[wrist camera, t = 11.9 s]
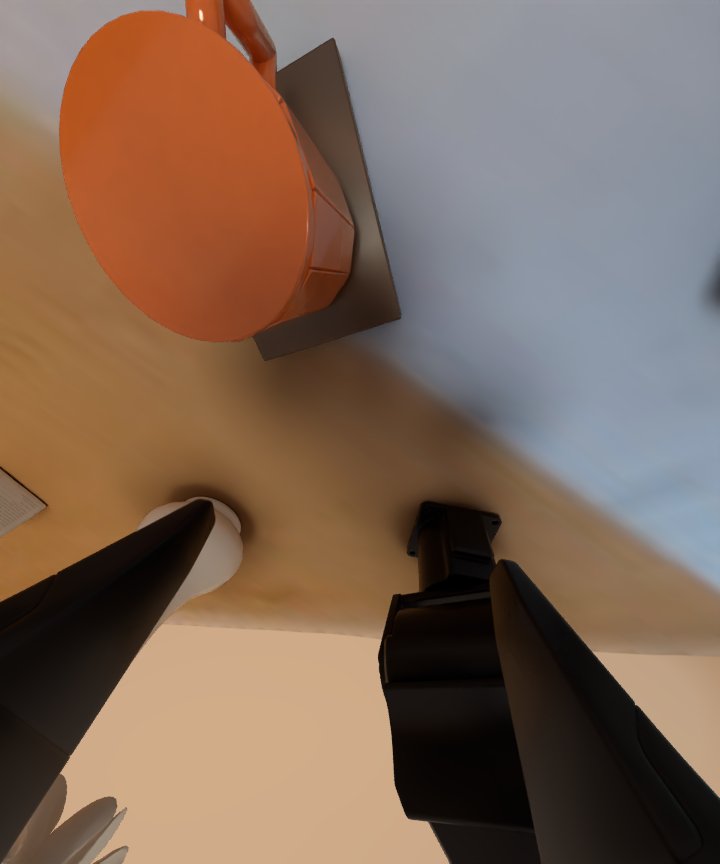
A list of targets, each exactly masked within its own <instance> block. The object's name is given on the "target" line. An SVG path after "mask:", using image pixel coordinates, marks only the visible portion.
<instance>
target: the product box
mask: <svg viewBox="0 0 720 864" xmlns="http://www.w3.org/2000/svg"><path fill="white" fill-rule="evenodd" d="M44 508H46V505H45V504H43V503H42V502H41V501H40V500H39V499H38V498H36V497H35V496H34V495H33V494H31V493H30V492H29V491H27V490H26V489H25V488H24V487H22V486H21V485H20V484H18V483H17V482H16V481H15V480H13V479H12V478H11V477H10V476H9V475H7V474H6V473H5V472H4V471H2V470H1V469H0V538H1V537H2V536H4V535H5V534H7V533H8V532H10V531H11V530H13V529H14V528H16V527H17V526H19V525H21V524H22V523H24V522H25V521H27V520H28V519H30V518H31V517H33V516H34V515H36V514H37V513H39V512H40V511H42V510H43V509H44Z"/></svg>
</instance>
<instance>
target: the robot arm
mask: <svg viewBox="0 0 720 864" xmlns="http://www.w3.org/2000/svg"><path fill="white" fill-rule="evenodd" d="M425 507H428V508H425ZM494 520H496V521H494ZM215 521H216V517H215V512H214V506H213V503H212V501H210V500H206V499H196V500H194V501H192V502H190V503H189V504H187V505H185V506H183V507H181V508H179V509H177V510H175V511H173V512H171V513H170V514H168V515H166V516H164V517H162V518H160V519H158V520H156V521H154V522H153V523H151V524H149V525H147V526H145V527H143V528H141V529H139V530H137V531H135V532H134V533H132V534H130V535H128V536H126V537H124V538H122V539H120V540H118V541H117V542H115V543H113V544H111V545H109V546H107V547H105V548H103V549H101V550H99V551H98V552H96V553H94V554H92V555H90V556H88V557H86V558H84V559H82V560H80V561H79V562H77V563H75V564H73V565H71V566H69V567H67V568H65V569H63V570H62V571H60V572H58V573H57V574H56V575H52V576H50V577H48V578H46V579H44V580H42V581H40V582H39V583H37V584H35V585H33V586H31V587H29V588H27V589H25V590H23V591H21V592H19V593H17V594H15V595H13V596H11V597H9V598H7V599H5V600H3V601H1V602H0V864H1V863H2V861H3V860H4V858H5V857H6V855H7V854H8V852H9V851H10V849H11V848H12V846H13V845H14V843H15V841H16V840H17V838H18V837H19V835H20V834H21V832H22V831H23V829H24V828H25V826H26V825H27V823H28V821H29V820H30V818H31V817H32V815H33V814H34V812H35V811H36V809H37V808H38V806H39V805H40V803H41V801H42V800H43V798H44V797H45V795H46V794H47V792H48V791H49V789H50V788H51V786H52V785H53V783H54V781H55V780H56V778H57V777H58V775H59V774H60V772H61V771H62V769H63V767H64V766H65V764H66V763H67V761H68V760H69V758H70V755H72V753H73V752H74V750H75V749H76V747H77V745H78V744H79V743H80V741H81V739H82V738H83V736H84V735H85V733H86V732H87V730H88V729H89V727H90V726H91V724H92V722H93V721H94V719H95V718H96V716H97V715H98V713H99V712H100V710H101V708H102V707H103V706H104V704H105V702H106V701H107V699H108V698H109V696H110V694H111V693H112V692H113V690H114V689H115V687H116V686H117V684H118V682H119V681H120V679H121V678H122V676H123V674H124V673H125V671H126V670H127V669H128V667H129V665H130V664H131V662H132V661H133V659H134V658H135V656H136V655H137V653H138V652H139V650H140V649H141V647H142V646H143V644H144V642H145V641H146V639H147V638H148V636H149V635H150V633H151V632H152V630H153V629H154V627H155V625H156V624H157V622H158V621H159V619H160V618H161V616H162V615H163V613H164V612H165V610H166V609H167V607H168V605H169V604H170V602H171V601H172V599H173V598H174V596H175V595H176V593H177V592H178V590H179V589H180V587H181V585H182V584H183V582H184V581H185V579H186V578H187V576H188V574H189V573H190V571H191V569H192V568H193V566H194V564H195V562H196V560H197V558H198V556H199V554H200V552H201V550H202V548H203V547H204V545H205V543H206V541H207V539H208V537H209V535H210V533H211V531H212V529H213V527H214V525H215ZM501 523H502V522H501V519H500V517H499V516H498V515H495V514H490V513H485V512H479V511H474V510H469V509H464V508H459V507H453V506H448V505H443V504H438V503H432V502H423V503H421V505H420V508H419V511H418V514H417V518H416V521H415V524H414V527H413V530H412V534H411V537H410V540H409V543H408V546H407V554H408V555H409V556H411V557H416V558H418V570H419V592H417V593H411V594H404V595H401V594H395V595H393V597H392V601H391V605H390V609H389V613H388V617H387V621H386V625H385V629H384V633H383V637H382V641H381V645H380V649H379V653H378V661H379V673H380V679H381V684H382V689H383V692H384V696H385V699H386V702H387V706H388V712H389V718H390V726H391V734H392V746H393V763H394V781H395V787H396V790H397V793H398V795H399V798H400V801H401V804H402V807H403V809H404V812H405V814H406V816H407V818H408V819H412V820H420V821H427V822H429V824H430V826H431V828H432V830H433V832H434V834H435V836H436V838H437V840H438V842H439V843H440V845H441V847H442V849H443V851H444V853H445V855H446V857H447V858H448V860H449V863H450V864H720V798H719V797H718V796H717V795H716V794H715V793H714V791H713V790H712V789H711V788H710V787H709V786H708V785H707V784H706V783H705V781H703V779H702V778H701V777H700V776H699V775H698V774H697V773H696V772H695V771H694V770H693V768H692V767H691V766H690V765H689V764H688V763H687V762H686V761H685V760H684V759H683V757H682V756H681V755H680V754H679V753H678V752H677V751H676V749H675V748H674V747H673V746H672V745H671V744H670V742H669V741H668V740H667V739H666V738H665V737H664V736H663V735H662V733H661V732H660V731H659V730H658V729H657V728H656V726H655V725H654V724H653V723H652V722H651V720H650V719H649V718H648V717H647V716H646V715H645V713H644V712H643V711H642V710H641V709H640V708H639V707H638V706H637V705H635V702H634V701H633V699H632V698H631V697H630V696H629V695H628V694H627V693H626V691H625V690H624V689H623V688H622V687H621V685H620V684H619V683H618V682H617V681H616V680H615V679H614V677H613V676H612V675H611V674H610V672H609V671H608V670H607V669H606V668H605V667H604V665H603V664H602V663H601V662H600V661H599V660H598V658H597V657H596V656H595V655H594V654H593V652H592V651H591V650H590V649H589V648H588V647H587V645H586V644H585V643H584V642H583V641H582V639H581V638H580V637H579V636H578V635H577V634H576V632H575V631H574V630H573V629H572V628H571V627H570V625H569V624H568V623H567V622H566V621H565V619H564V618H563V617H562V616H561V615H560V614H559V612H558V611H557V610H556V609H555V608H554V607H553V605H552V604H551V603H550V602H549V601H548V599H547V598H546V597H545V596H544V595H543V594H542V592H541V591H540V590H539V589H538V588H537V587H536V585H535V584H534V583H533V582H532V581H531V579H530V578H529V577H528V576H527V575H526V574H525V572H524V571H523V570H522V569H521V568H520V567H519V565H518V564H517V563H515V562H514V561H510V560H505V559H501V560H499V561H498V563H497V565H496V562H495V559H494V553H493V550H492V547H491V542H492V540H493V539H494V537H495V535H496V533H497V531H498V529H499V527H500V525H501Z"/></svg>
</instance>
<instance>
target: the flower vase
mask: <svg viewBox="0 0 720 864" xmlns="http://www.w3.org/2000/svg"><path fill="white" fill-rule="evenodd" d="M196 499H206V500H210V501H212V503H213V506H214V512H215V517H216V521H215V525H214V527H213V529H212V531H211V533H210V535H209V537H208V539H207V541H206V543H205V545H204V547H203V548H202V550H201V552H200V554H199V556H198V558H197V560H196V562H195V564H194V566H193V568H192V569H191V571H190V573H189V574H188V576H187V578H186V579H185V581H184V582H183V584H182V585H181V587H180V589H179V590H178V592H177V593H176V595H175V596H174V598H173V599H172V601H171V602H170V604H169V605H168V607H167V609H166V610H165V612H164V613H163V615H162V616H161V618H160V619H159V621H158V622H157V624H156V625H155V627H154V629H153V630H152V632H151V633H150V635H149V636H148V638H147V639H146V641H145V642H144V644H143V646H144V645H145V644H146V642H147V641H148V640H149V639H150V637H151V636H152V635H153V634H154V633H155V631H156V630H157V629H158V628H159V627H160V626H161V625H162V624H163V622H164V621H165V620H167V619H168V618H169V617H170V616H171V615H172V614H173V613H174V612H175V611H177V610H178V609H179V608H180V607H182V606H183V605H184V604H185V603H187V602H188V601H190V600H191V599H193V598H195V597H198V596H201V595H204V594H206V593H209V592H211V591H213V590H215V589H217V588H219V587H221V586H222V585H224V584H225V583H226V582H227V581H228V580H229V579H230V578H231V577H232V576H233V575H234V574H235V573H236V572H237V571H238V569H239V567H240V565H241V562H242V559H243V545H242V539H241V536H240V532H241V523H240V521H239V519H238V517H237V515H236V514H235V513H234V511H233V510H232V509H230V508H229V507H228V506H227V505H225V504H223V503H222V502H220V501H218V500H215V499H213V498H208V497H193V498H190V499H188V500H186V501H178V502H172V503H168V504H164V505H161V506H158V507H156V508H154V509H153V510H152V511H150V512H149V513H147V514H146V515H145V516H144V517H143V519H142V520H141V522H140V523H139V525H138V527H137V529H136V531H137V530H139V529H141V528H143V527H145V526H147V525H149V524H151V523H153V522H154V521H156V520H158V519H160V518H162V517H164V516H166V515H168V514H170V513H171V512H173V511H175V510H177V509H179V508H181V507H183V506H185V505H187V504H189V503H190V502H192V501H194V500H196ZM143 646H142V647H141V649H142V648H143ZM141 649H140V650H141ZM140 650H139V652H140ZM139 652H138V653H139ZM138 653H137V654H138ZM135 657H136V656H135ZM133 660H134V659H133ZM66 795H67V785H66V780H65V778H64V776H63V775H62V774H59V775H58V777H57V778H56V780H55V781H54V783H53V785H52V786H51V788H50V789H49V791H48V792H47V794H46V795H45V797H44V798H43V800H42V801H41V803H40V805H39V806H38V808H37V809H36V811H35V812H34V814H33V815H32V817H31V818H30V820H29V821H28V823H27V825H26V826H25V828H24V829H23V831H22V832H21V834H20V835H19V837H18V838H17V840H16V841H15V843H14V845H13V846H12V848H11V849H10V851H9V852H8V854H7V855H6V857H5V858H4V860H3V861H2V863H1V864H90V863H91V862H92V861H93V860H94V859H95V858H96V857H97V856H98V854H99V853H100V852H101V851H102V850H103V848H104V847H105V846H106V844H107V843H108V841H109V840H110V839H111V838H112V836H113V834H114V833H115V831H116V830H117V828H118V827H119V825H120V823H121V821H122V820H123V817H124V815H125V814H126V811H127V808H125V809H123V810H122V811H121V812H119V813H118V814H117V815H116V816H115V817H114V818H113V816H114V814H115V812H116V808H117V802H116V799H115V798H114V797H104V798H102V799H99V800H96V801H94V802H92V803H91V804H89V805H87V806H86V807H84V808H82V809H81V810H80V811H78V812H77V813H76V814H74V815H73V816H72V817H70V818H69V819H68V820H66V821H65V822H64V823H63V824H62V825H60V826H59V827H58V828H57V829H55V830H54V831H53V832H52V830H53V829H54V828H55V826H56V825H57V823H58V821H59V820H60V817H61V815H62V812H63V809H64V805H65V801H66ZM51 832H52V833H51ZM50 833H51V834H50ZM127 852H128V847H127V846H123V847H121V848H118V849H116V850H114V851H112V852H111V853H109V854H108V855H106V856H105V857H103V858H102V859H100V860H98V861H96V862H95V863H93V864H122V863H123V861H124V858H125V856H126V854H127Z"/></svg>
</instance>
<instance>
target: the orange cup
mask: <svg viewBox="0 0 720 864" xmlns="http://www.w3.org/2000/svg"><path fill="white" fill-rule="evenodd" d="M185 6H186V16H187V17H185V16H182V15H178V14H174V13H169V12H164V11H138V12H134V13H130V14H126V15H122V16H120V17H118V18H116V19H114V20H112V21H110V22H108V23H106V24H105V25H104V26H103V27H102V28H100V29H99V30H98V31H97V32H96V33H95V34H93V35H92V36H91V38H90V39H89V40H88V41H87V43H86V44H85V45H84V47H83V48H82V49H81V50H80V52H79V54H78V56H77V58H76V60H75V62H74V64H73V65H72V67H71V70H70V73H69V76H68V79H67V82H66V85H65V88H64V93H63V98H62V104H61V111H60V125H59V137H60V154H61V162H62V169H63V175H64V179H65V184H66V188H67V192H68V196H69V199H70V202H71V205H72V208H73V211H74V214H75V217H76V219H77V221H78V224H79V226H80V229H81V231H82V233H83V235H84V237H85V239H86V241H87V243H88V245H89V247H90V249H91V251H92V252H93V254H94V256H95V257H96V259H97V261H98V262H99V264H100V265H101V267H102V268H103V270H104V271H105V272H106V274H107V275H108V277H109V278H110V279H111V281H112V282H113V283H114V284H115V285H116V287H117V288H118V289H119V290H120V291H121V292H122V293H123V295H124V296H125V297H126V298H127V299H129V300H130V301H131V302H132V303H133V304H134V305H135V306H136V307H137V308H138V309H139V310H141V311H142V312H143V313H144V314H146V315H147V316H148V317H149V318H151V319H153V320H154V321H156V322H157V323H159V324H160V325H162V326H164V327H166V328H168V329H169V330H171V331H173V332H175V333H178V334H181V335H183V336H186V337H189V338H193V339H197V340H201V341H209V342H229V341H230V342H236V341H237V342H240V341H242V340H245V339H248V338H251V337H253V336H256V335H259V334H262V333H265V332H267V331H270V330H273V329H276V328H278V327H281V326H284V325H287V324H290V323H292V322H295V321H298V320H300V319H303V318H305V317H307V316H309V315H311V314H314V313H316V312H318V311H320V310H322V309H325V308H327V307H328V306H329V305H330V304H331V302H332V301H333V299H334V298H335V296H336V295H337V293H338V292H339V290H340V289H341V287H342V286H343V284H344V283H345V281H346V280H347V278H348V276H349V274H348V273H350V270H351V260H352V251H353V241H354V231H355V230H354V229H353V228H354V224H353V221H352V218H351V215H350V212H349V209H348V207H347V204H346V201H345V198H344V195H343V192H342V189H341V186H340V183H339V181H338V180H337V178H336V177H335V175H334V174H333V172H332V171H331V169H330V168H329V166H328V165H327V163H326V162H325V160H324V159H323V157H322V156H321V154H320V153H319V151H318V150H317V148H316V147H315V145H314V144H313V143H312V141H311V140H310V138H309V137H308V135H307V134H306V132H305V131H304V129H303V128H302V126H301V125H300V123H299V122H298V120H297V119H296V117H295V116H294V114H293V113H292V111H291V110H290V108H289V107H288V106H287V104H286V103H285V101H284V100H283V98H282V97H281V95H280V94H279V93H278V92H277V55H276V48H275V45H274V42H273V40H272V38H271V37H270V35H269V33H268V31H267V29H266V28H265V26H264V24H263V22H262V20H261V19H260V17H259V15H258V13H257V11H256V10H255V8H254V6H253V4H252V2H251V1H250V0H185ZM225 24H226V25H227V26H228V28H229V29H230V31H231V32H232V34H233V35H234V36H235V38H236V39H237V41H238V42H239V44H240V45H241V46H242V48H243V49H244V51H245V52H246V54H247V55H248V56H249V61H248V60H247V59H246V58H245V57H244V56H243V54H242V53H241V52H240V51H239V50H237V49H236V48H235V47H234V46H233V45H232V44H230V43H229V42H228V41H227V40H226V28H225Z"/></svg>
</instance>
